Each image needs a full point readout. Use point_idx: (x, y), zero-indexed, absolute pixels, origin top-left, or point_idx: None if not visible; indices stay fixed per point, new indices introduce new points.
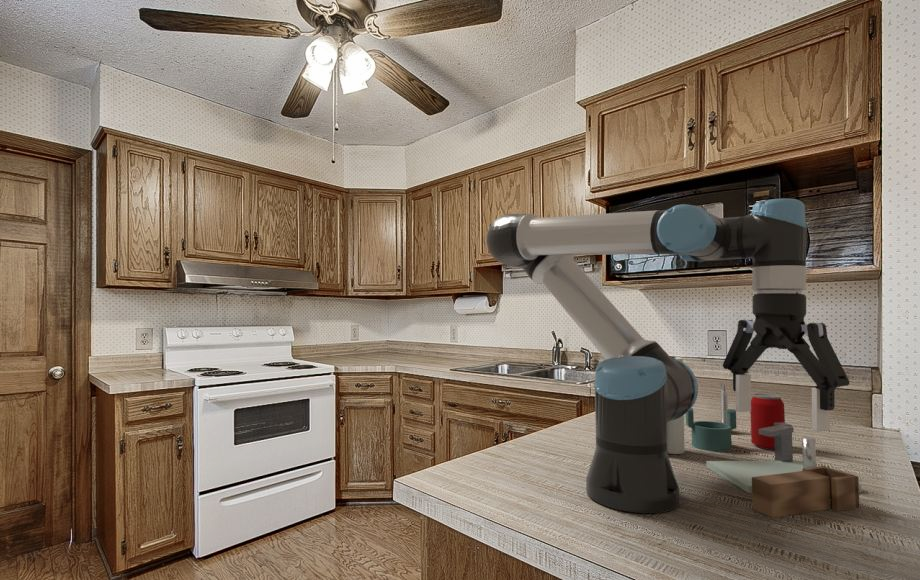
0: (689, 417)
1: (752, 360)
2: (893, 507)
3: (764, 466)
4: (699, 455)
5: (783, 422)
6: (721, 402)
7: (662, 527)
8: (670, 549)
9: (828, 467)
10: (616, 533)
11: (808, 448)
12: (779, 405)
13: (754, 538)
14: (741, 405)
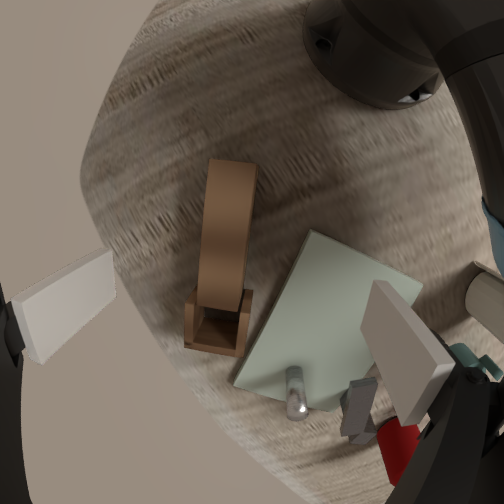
0: (492, 364)
1: (404, 484)
2: (185, 358)
3: (354, 348)
4: (447, 319)
5: (365, 443)
6: None
7: (265, 3)
8: None
9: (233, 355)
10: None
11: (292, 397)
12: (393, 476)
13: (187, 77)
14: (378, 300)
